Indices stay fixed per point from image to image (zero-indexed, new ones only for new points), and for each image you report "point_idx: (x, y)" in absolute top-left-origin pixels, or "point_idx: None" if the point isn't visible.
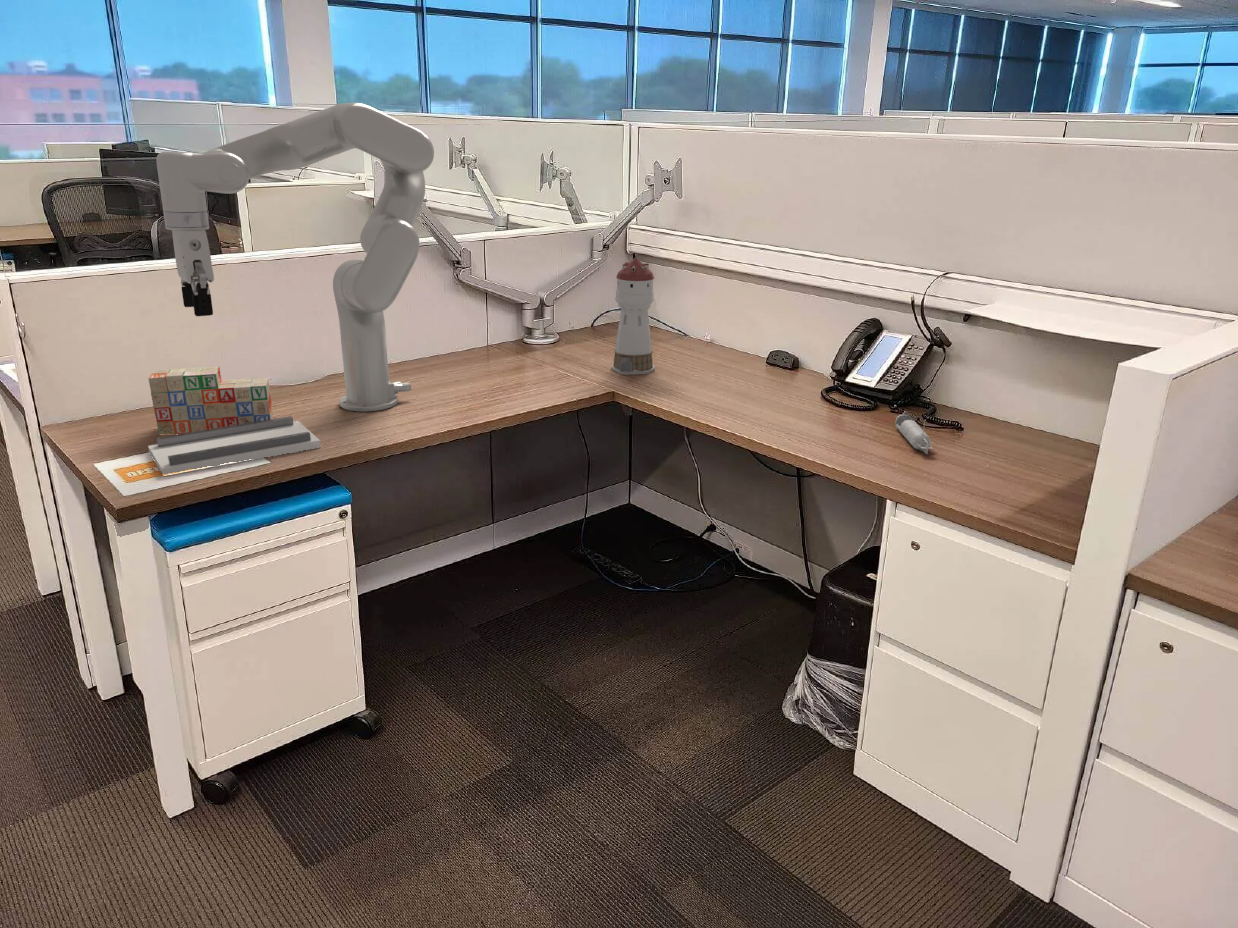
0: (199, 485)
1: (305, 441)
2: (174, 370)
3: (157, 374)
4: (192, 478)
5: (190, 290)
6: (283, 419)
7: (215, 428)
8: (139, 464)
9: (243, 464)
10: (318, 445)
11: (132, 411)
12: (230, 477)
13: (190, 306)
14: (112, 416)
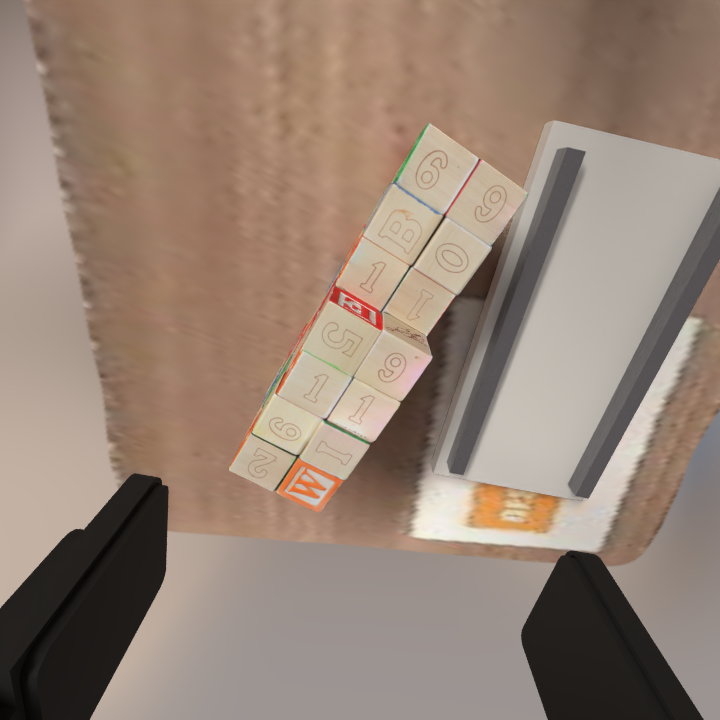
0: (670, 465)
1: None
2: (282, 435)
3: (290, 482)
4: (627, 460)
5: (73, 695)
6: (572, 183)
7: (491, 361)
8: (476, 493)
9: None
10: None
11: (112, 389)
12: (690, 414)
13: (166, 550)
14: (131, 431)
